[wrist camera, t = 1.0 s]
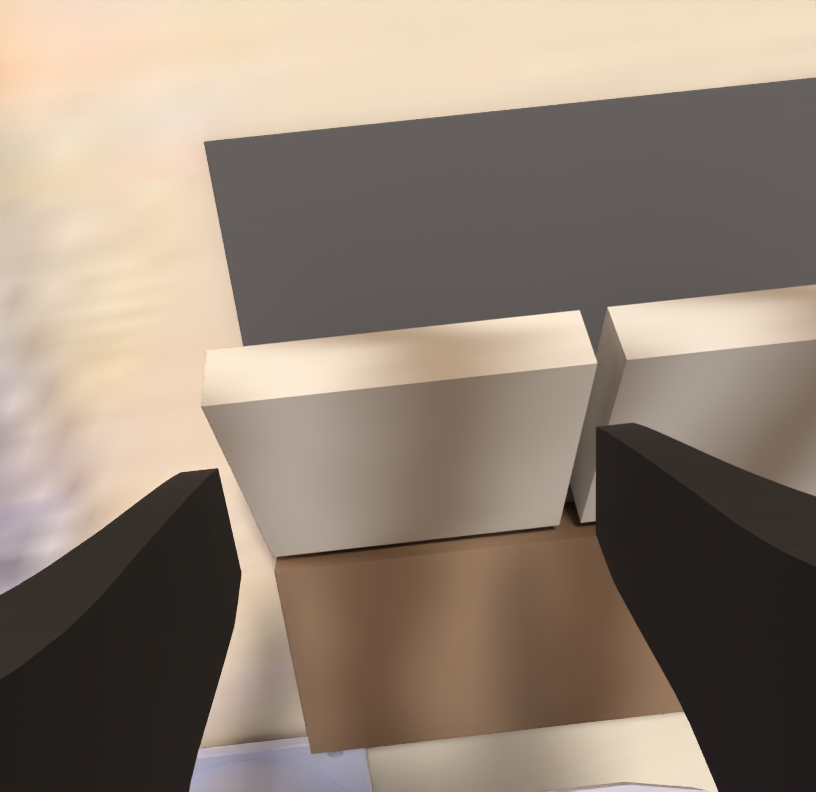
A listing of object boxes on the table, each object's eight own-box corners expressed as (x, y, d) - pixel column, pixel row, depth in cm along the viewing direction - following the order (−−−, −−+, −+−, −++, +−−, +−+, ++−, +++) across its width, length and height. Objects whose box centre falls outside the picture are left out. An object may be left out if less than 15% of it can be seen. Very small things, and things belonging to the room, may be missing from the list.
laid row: (315, 706, 24) (311, 754, 22) (282, 533, 22) (274, 571, 20) (800, 651, 24) (834, 693, 23) (826, 473, 22) (866, 505, 20)
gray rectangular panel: (281, 528, 22) (280, 533, 21) (206, 141, 17) (204, 142, 17) (827, 467, 22) (833, 472, 21) (883, 70, 18) (892, 69, 17)
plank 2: (568, 476, 21) (580, 522, 20) (607, 307, 15) (627, 360, 14) (839, 446, 21) (863, 491, 20) (975, 267, 15) (1018, 317, 15)
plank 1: (274, 509, 21) (273, 557, 20) (207, 350, 15) (201, 406, 14) (547, 479, 21) (559, 525, 20) (579, 309, 15) (597, 363, 14)
